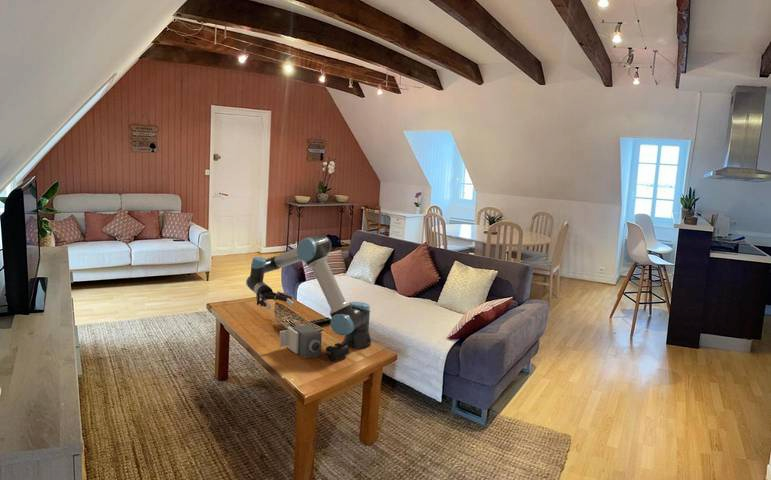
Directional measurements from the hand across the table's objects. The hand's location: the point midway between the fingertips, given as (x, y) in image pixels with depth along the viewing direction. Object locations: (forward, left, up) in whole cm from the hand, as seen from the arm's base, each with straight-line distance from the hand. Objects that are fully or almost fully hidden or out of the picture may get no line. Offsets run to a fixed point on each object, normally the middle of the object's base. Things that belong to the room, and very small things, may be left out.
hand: (281, 306), depth 255 cm
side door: (-3, +8, -22) cm, 23 cm away
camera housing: (-12, +11, -22) cm, 28 cm away
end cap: (-26, +20, -22) cm, 40 cm away
